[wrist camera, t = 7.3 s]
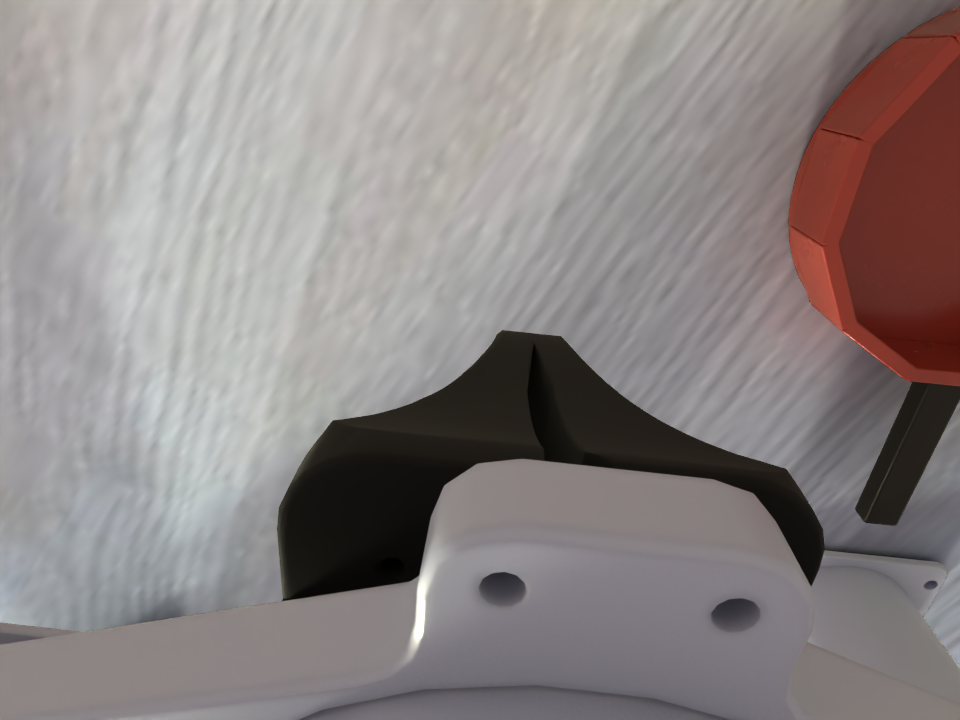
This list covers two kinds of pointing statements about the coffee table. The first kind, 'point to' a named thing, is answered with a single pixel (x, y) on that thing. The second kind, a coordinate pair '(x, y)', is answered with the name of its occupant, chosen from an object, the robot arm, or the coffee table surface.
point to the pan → (891, 239)
